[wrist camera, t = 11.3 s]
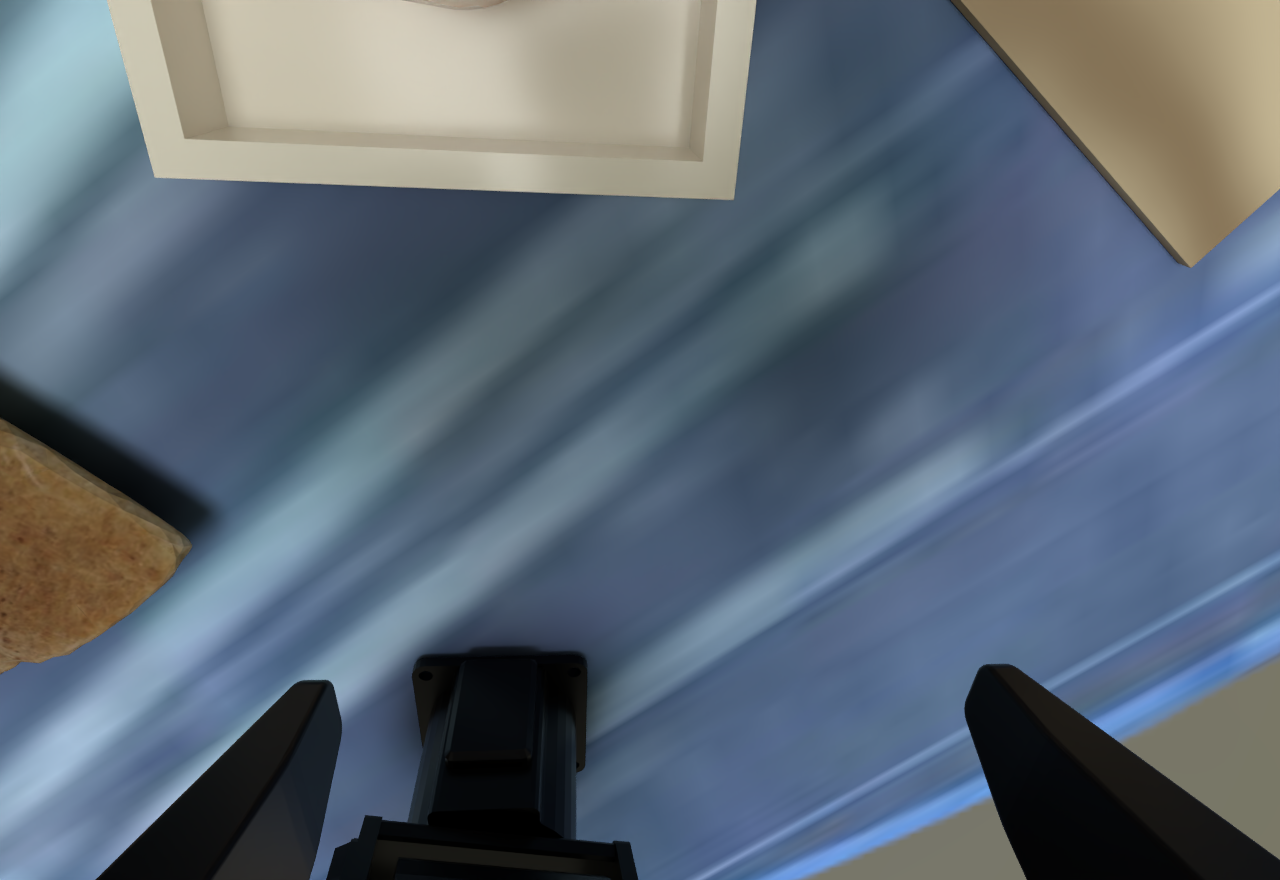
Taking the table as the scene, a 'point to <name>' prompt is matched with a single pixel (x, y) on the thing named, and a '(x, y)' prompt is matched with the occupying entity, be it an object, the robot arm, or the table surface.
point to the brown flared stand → (70, 552)
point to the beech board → (1156, 100)
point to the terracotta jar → (459, 3)
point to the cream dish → (444, 93)
